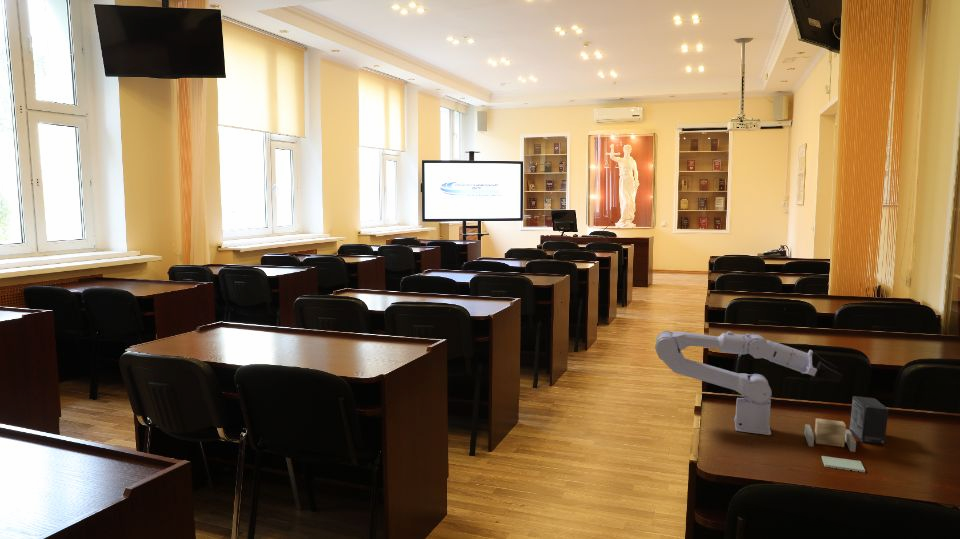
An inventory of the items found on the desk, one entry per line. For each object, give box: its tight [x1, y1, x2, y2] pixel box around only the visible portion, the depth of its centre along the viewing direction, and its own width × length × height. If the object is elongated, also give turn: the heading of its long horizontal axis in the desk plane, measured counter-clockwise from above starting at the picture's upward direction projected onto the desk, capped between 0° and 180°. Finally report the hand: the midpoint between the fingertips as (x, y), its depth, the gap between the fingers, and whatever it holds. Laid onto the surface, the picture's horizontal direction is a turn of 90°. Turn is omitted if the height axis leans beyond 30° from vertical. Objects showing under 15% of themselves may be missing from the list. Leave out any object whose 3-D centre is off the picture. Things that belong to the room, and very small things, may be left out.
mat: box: [821, 455, 866, 473], centre depth 170 cm, size 9×6×1 cm, turn 70°
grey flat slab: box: [804, 424, 857, 453], centre depth 185 cm, size 11×10×3 cm
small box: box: [848, 395, 889, 445], centre depth 189 cm, size 11×6×10 cm, turn 168°
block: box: [813, 417, 847, 448], centre depth 185 cm, size 7×4×6 cm, turn 70°
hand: (838, 374), depth 186 cm, fingers open, 7 cm apart
